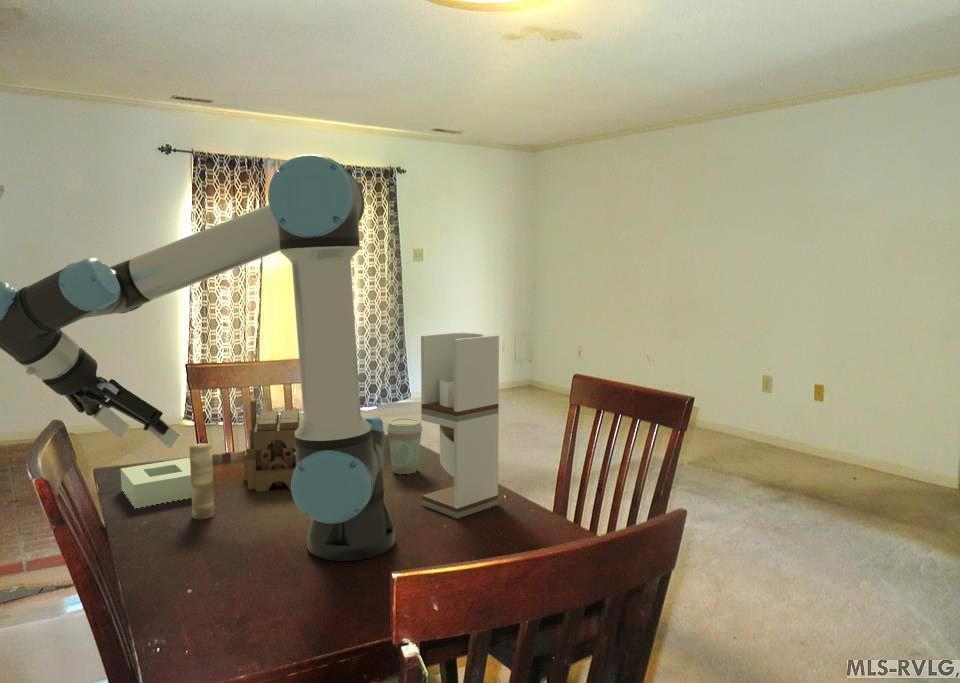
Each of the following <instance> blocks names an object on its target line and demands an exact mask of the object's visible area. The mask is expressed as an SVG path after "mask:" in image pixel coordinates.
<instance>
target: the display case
mask: <svg viewBox="0 0 960 683" xmlns="http://www.w3.org/2000/svg"><path fill="white" fill-rule="evenodd" d="M499 356H500V335H497V334H496V335H494V334H487V333H477V332H467V331H459V332H447V333H438V334H437V333H436V334H435V333H434V334H426V335H425V334H422V335H420V368H421V370H420V372H421V373H420V382H421V383H420V384H421V388H420V389H421V390H420V391H421V392H420V393H421V394H420V395H421V396H420V397H421V403H420V404H421V407H420V408H421V421H423V422H426V423H427V422H428V423H431V424H435V425H439V463H440V465H441V467H442V468H443V469H444V471H445V472H446V473H447V474H448V475H449V476H452V478H453V486H449V487H446V488H444V489H440V490H435V491H432V492H429V493H426V494H423V495H421V505H422V506H424V507H425V508H429V509H431V510H434V511H435V512H439V513H441V514H444V515H446V516H449V517H451V518H453V519H454V518H455V519H460V518H464V517H467V516H469V515H473V514H476V513H478V512H481V511H483V510H487V509H490V508H492V506H493V507H496V506H497V505H499V414H500V413H499V408H500V407H499V406H500V405H499V399H500V398H499V397H500V396H499V394H500V392H499V388H500V387H499V385H500V383H499V382H500V381H499V380H500V379H499V378H500V377H499V374H500V373H499V371H500V370H499V369H500V363H499V362H500V357H499ZM495 505H496V506H495Z"/></svg>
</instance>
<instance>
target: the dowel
mask: <svg viewBox="0 0 960 683" xmlns="http://www.w3.org/2000/svg"><path fill="white" fill-rule="evenodd" d="M189 459H190V469H191V492H192V498H191V511H192V518H193V519H195V520H205V519H207V520H208V519H210V518H212V517H214V516H215V496H214V470H213V446H212V444H211V443H202V442H201V443H196V444H195V443H194V444H192V445H190V446H189Z"/></svg>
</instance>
